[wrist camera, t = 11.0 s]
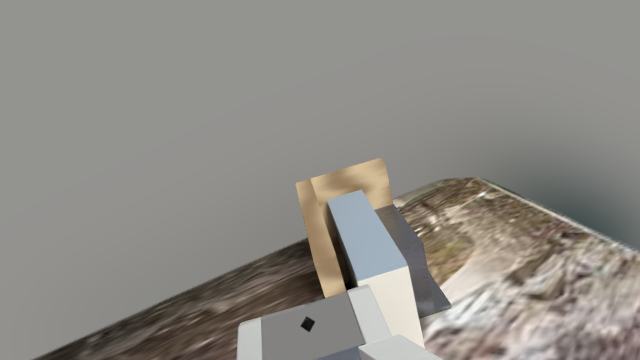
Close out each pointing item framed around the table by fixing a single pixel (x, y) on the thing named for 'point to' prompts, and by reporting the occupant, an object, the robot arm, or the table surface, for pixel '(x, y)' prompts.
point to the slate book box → (376, 263)
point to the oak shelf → (320, 221)
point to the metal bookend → (414, 262)
